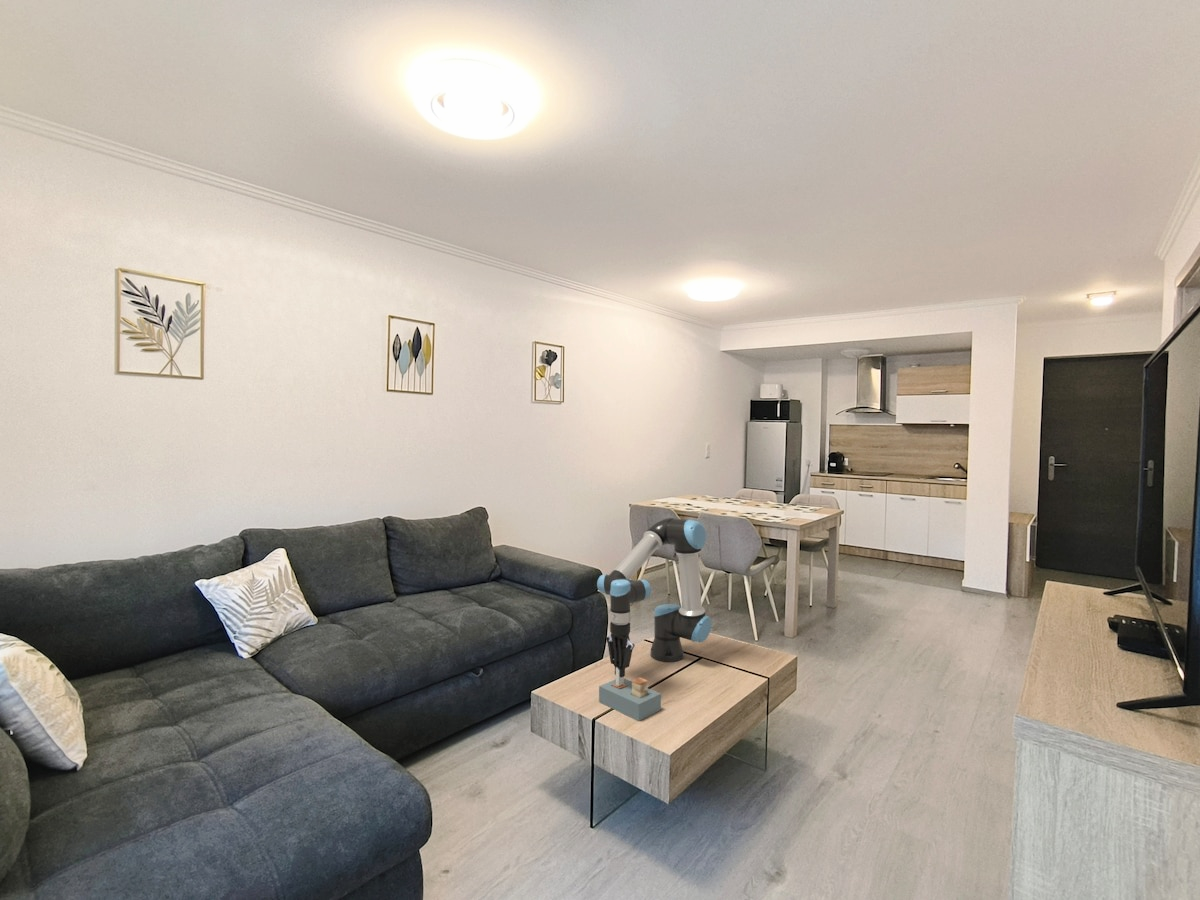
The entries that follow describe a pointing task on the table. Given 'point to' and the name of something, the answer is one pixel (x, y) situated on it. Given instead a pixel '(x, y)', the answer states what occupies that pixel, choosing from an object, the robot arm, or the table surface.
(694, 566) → the robot arm
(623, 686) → the peg
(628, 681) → the socket block
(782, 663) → the table surface
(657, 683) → the table surface
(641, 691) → the peg
